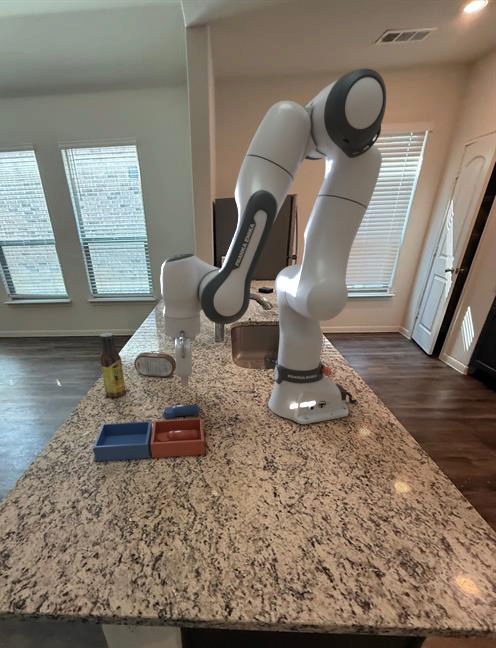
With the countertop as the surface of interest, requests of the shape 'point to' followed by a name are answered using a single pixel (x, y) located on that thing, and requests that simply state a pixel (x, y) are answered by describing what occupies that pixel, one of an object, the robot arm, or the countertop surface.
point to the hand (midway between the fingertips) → (184, 376)
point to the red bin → (177, 446)
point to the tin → (155, 364)
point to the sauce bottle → (111, 367)
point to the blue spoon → (181, 410)
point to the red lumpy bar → (178, 436)
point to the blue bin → (123, 441)
